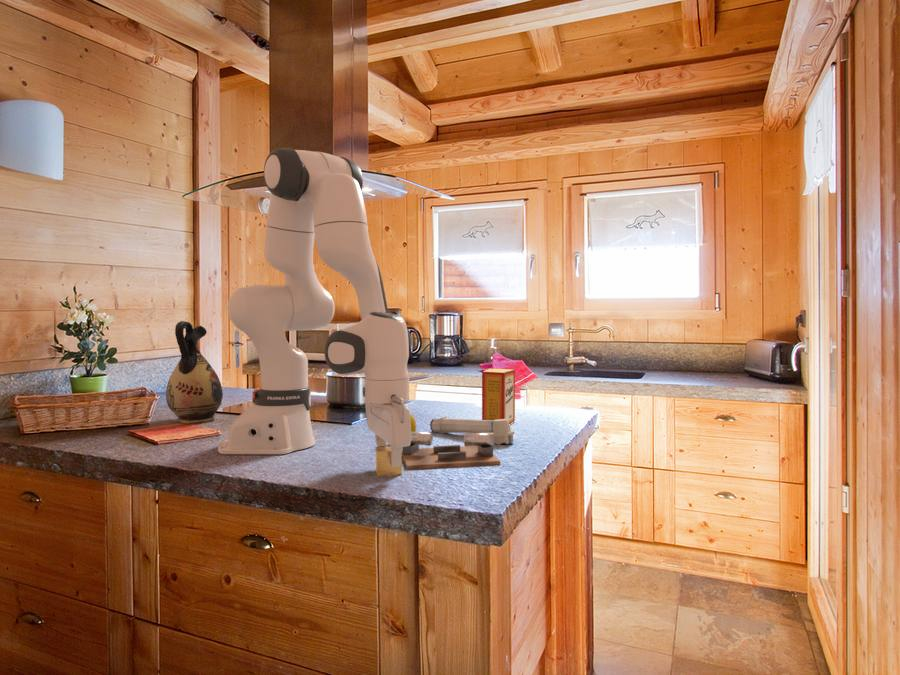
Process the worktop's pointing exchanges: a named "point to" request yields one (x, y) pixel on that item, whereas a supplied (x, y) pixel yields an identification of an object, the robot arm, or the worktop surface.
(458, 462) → the shaft bench
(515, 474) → the worktop surface
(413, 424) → the lemon
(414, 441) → the shaft
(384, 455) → the coupling block
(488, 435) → the shaft
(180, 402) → the ceramic jug
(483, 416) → the baking soda box
